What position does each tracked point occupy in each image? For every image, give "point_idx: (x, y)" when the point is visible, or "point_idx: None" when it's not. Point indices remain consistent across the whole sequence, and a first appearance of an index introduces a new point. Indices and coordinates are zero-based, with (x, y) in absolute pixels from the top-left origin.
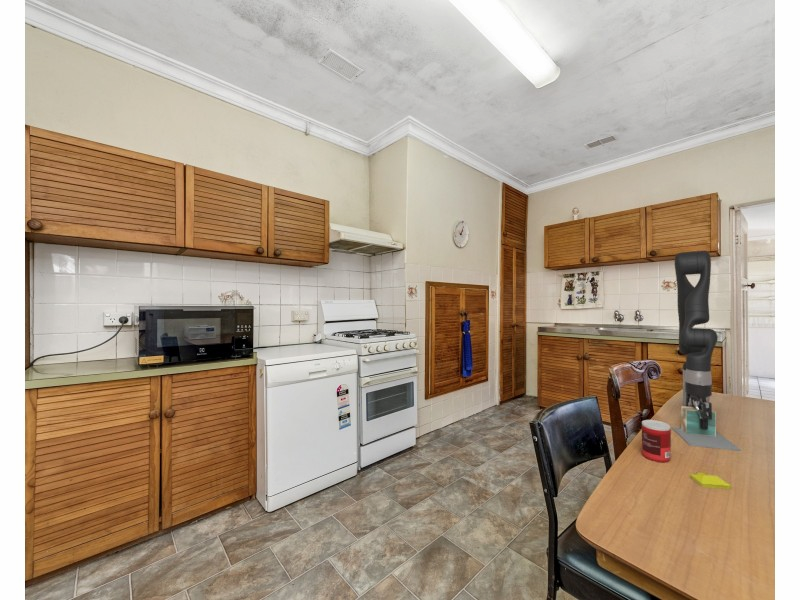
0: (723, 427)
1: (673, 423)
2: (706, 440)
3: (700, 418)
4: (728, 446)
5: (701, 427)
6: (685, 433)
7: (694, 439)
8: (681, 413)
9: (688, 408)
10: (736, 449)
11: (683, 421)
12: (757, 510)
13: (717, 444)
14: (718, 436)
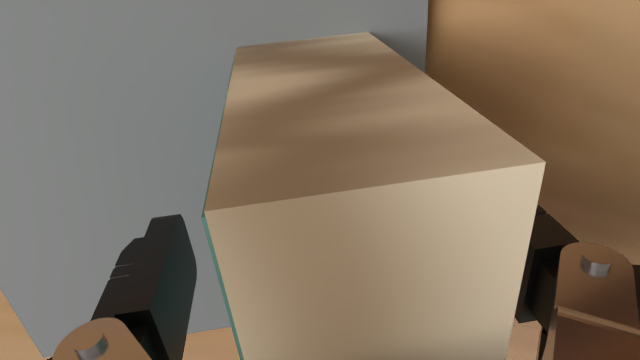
0: (524, 339)
1: (591, 8)
2: (109, 190)
3: (94, 324)
4: (51, 306)
5: (152, 232)
6: (236, 43)
7: (63, 89)
8: (436, 94)
9: (364, 283)
10: (33, 334)
11: (322, 71)
12: None
13: (47, 248)
14: None
